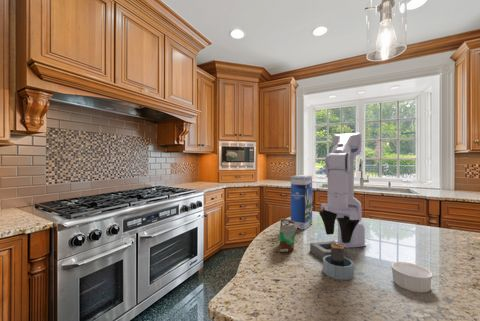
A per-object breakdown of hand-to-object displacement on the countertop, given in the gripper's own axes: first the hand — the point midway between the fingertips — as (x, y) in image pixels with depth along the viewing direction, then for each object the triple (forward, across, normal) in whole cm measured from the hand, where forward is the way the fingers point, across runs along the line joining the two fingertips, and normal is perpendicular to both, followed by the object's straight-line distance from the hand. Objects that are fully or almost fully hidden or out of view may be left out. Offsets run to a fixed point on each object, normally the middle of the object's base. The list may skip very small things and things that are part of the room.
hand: (337, 238), depth 69 cm
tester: (+10, -11, +4) cm, 15 cm away
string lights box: (+10, -46, +13) cm, 49 cm away
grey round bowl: (+10, +1, -1) cm, 10 cm away
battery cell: (+9, +1, -1) cm, 9 cm away
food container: (+10, -19, -7) cm, 23 cm away
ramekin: (+10, +11, +14) cm, 21 cm away
